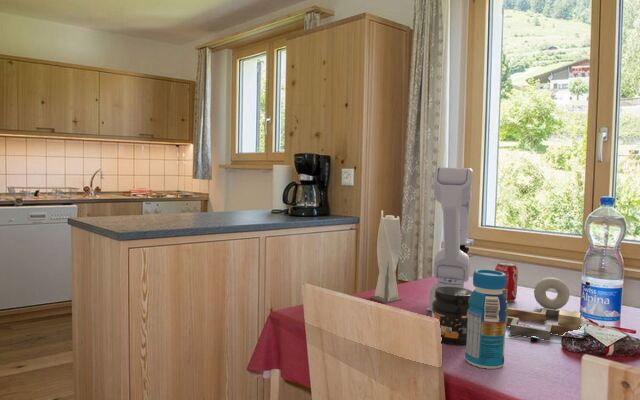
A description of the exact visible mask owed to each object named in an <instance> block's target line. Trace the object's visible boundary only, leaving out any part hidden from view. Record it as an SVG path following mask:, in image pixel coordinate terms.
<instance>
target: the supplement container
mask: <svg viewBox="0 0 640 400" xmlns="http://www.w3.org/2000/svg"><path fill="white" fill-rule="evenodd" d="M473 291H474V290H471V289H468V288H460V287H448V286H447V287H438V288H436V289H435V295H434V297H435V299H434V300H433V302H432V311H431V318H432V317H434V318H437V319H439V321H440V328H441V337H442V342H441V343H444V344H449V345H456V346H457V345H466V342H467V322H468V318H467V310H468V309H469V303H468V300H469V297H470V295H471V294H472V292H473Z"/></svg>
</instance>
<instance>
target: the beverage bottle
mask: <svg viewBox="0 0 640 400" xmlns="http://www.w3.org/2000/svg"><path fill="white" fill-rule="evenodd" d="M472 274H473V275H472V286H473V287H474V290H472V291H473V292H472V294H471V295H470V297H469V300H468V303H469V309H468V310H467V318H468V322H467V342H466V344H465V345H466V346H465V351H464V352H465V353H464V357H465V358H464V360H465V361H466V362H467V363H468V364H470V365H471V364H472V366H474V367H476V366H477V367H476V368H479V369H485V368H486V369H487V370H494V369H495V370H496V369H500V368H502V367H503V366H504V364H505V347H506V346H505V345H506V344H505V343H506V332H507V330H506V329H507V326H506V323H507V321H508V315H507V313H506V309H507V308H509V307H508V306H509V305H508V303H509V302H507V300H506V297H505V295H504V294H503V292H502V290H504V289H505V286H506V274H505V273H502V272H499V271H495V270H494V269H476V270H474V271H473V273H472Z"/></svg>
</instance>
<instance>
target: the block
mask: <svg viewBox="0 0 640 400" xmlns="http://www.w3.org/2000/svg"><path fill="white" fill-rule="evenodd" d="M559 310H560V311H559V317H558V320H557V325H563V326H569V327H575V328H579V327H580V315H581V313H582V312H577V311H570V310H563V309H559Z"/></svg>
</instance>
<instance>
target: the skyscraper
mask: <svg viewBox="0 0 640 400" xmlns="http://www.w3.org/2000/svg"><path fill="white" fill-rule="evenodd" d="M401 231H402V230H401V222H400V216H399V215H397V216H396V217H395V215H392V214H390V215H389V214H388V215H385V217H384V210H381V213H380V221H379V226H378V231H377V232H378V233H377V240H376V257H377V259H376V260H377V265H378V270H379V273H378V276H377V277H378V278H377V283H376V287H375V292H374V295H372V296H370V298H371V299H374V300H375V301H379V302H382V303H386V304H388V303H393V302H398V301H402V300H403V298H402V297H399V293H398V284H397V277H396V276H397V275H396V270H397V267H398V265H399V264H398V263H399V259H400V254H401V247H402V246H401V245H402V235H401Z"/></svg>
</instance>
